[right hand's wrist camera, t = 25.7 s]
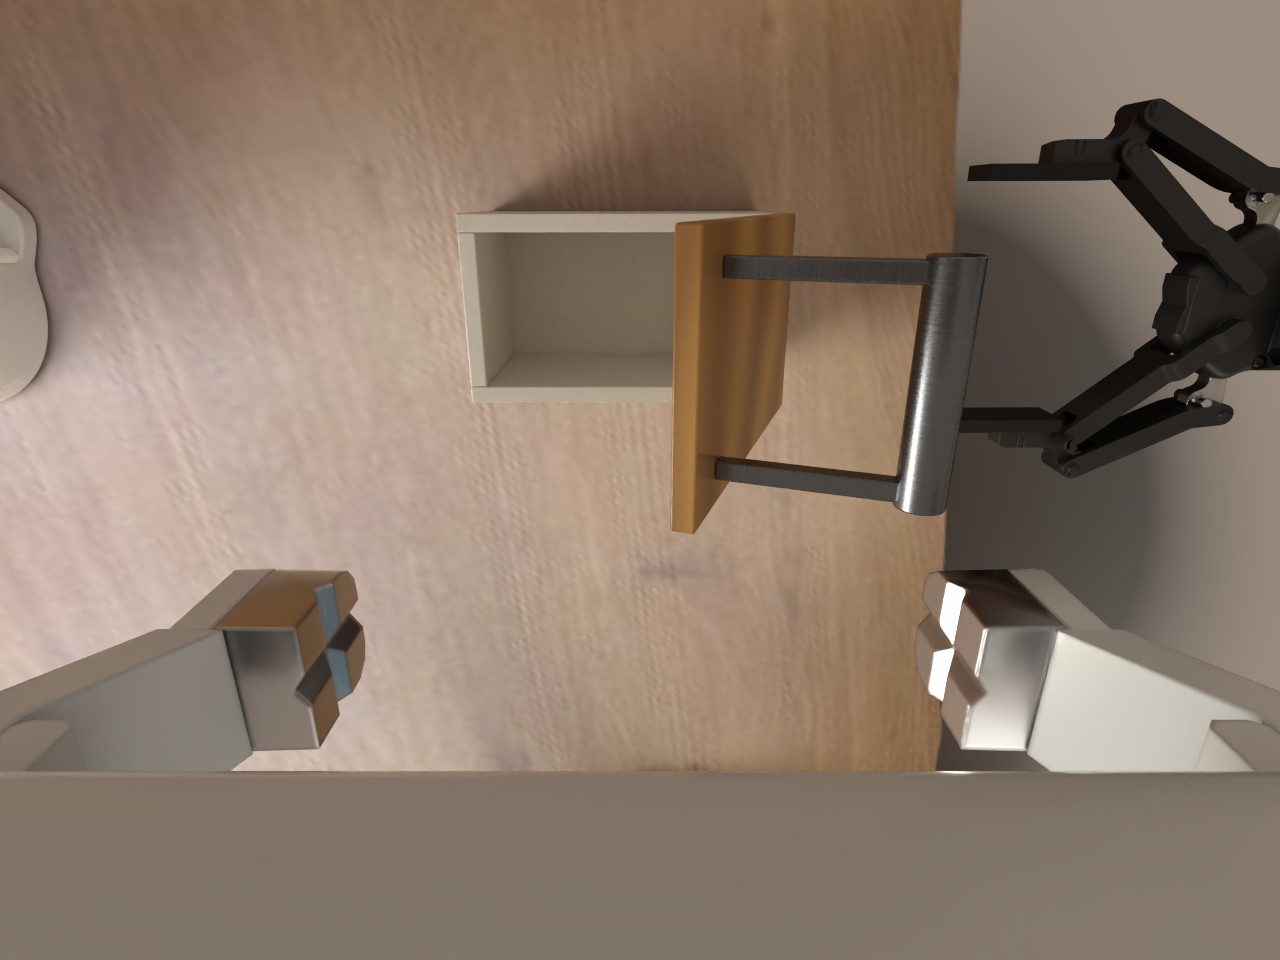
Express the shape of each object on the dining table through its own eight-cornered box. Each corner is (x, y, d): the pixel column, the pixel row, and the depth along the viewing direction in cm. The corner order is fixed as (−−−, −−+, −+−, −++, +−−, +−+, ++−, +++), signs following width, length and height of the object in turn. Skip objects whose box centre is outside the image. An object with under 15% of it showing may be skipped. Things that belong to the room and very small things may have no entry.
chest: (503, 364, 48) (471, 402, 39) (492, 210, 44) (455, 213, 35) (747, 364, 48) (772, 402, 39) (755, 210, 44) (785, 212, 35)
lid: (669, 531, 24) (944, 574, 21) (673, 222, 20) (1004, 225, 17) (765, 403, 39) (933, 419, 36) (778, 213, 35) (965, 213, 32)
